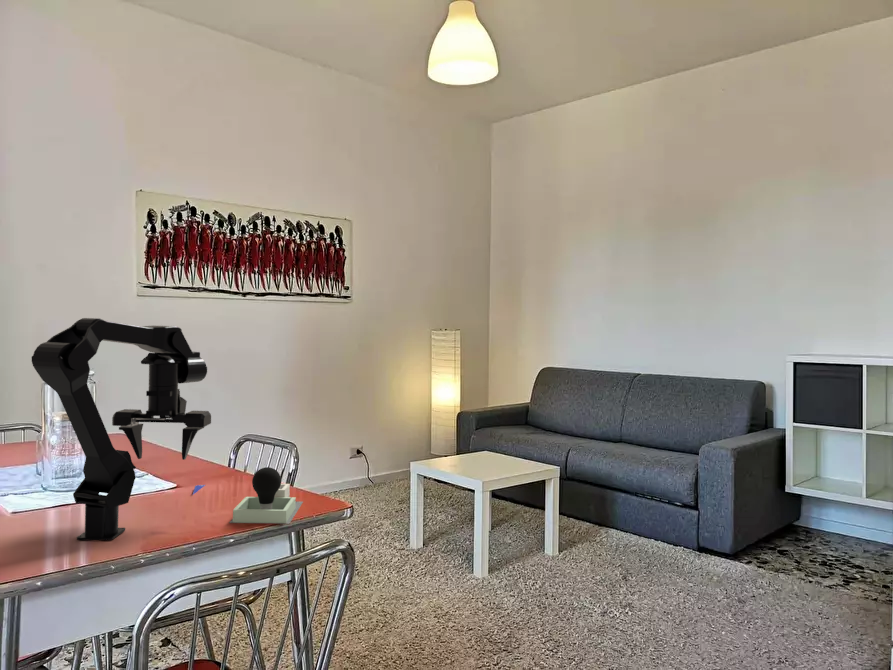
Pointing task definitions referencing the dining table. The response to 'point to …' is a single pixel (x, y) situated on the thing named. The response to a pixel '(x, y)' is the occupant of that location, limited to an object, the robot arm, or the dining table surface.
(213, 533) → the dining table surface
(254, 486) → the light bulb
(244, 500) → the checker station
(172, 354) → the robot arm
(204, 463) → the dining table surface
